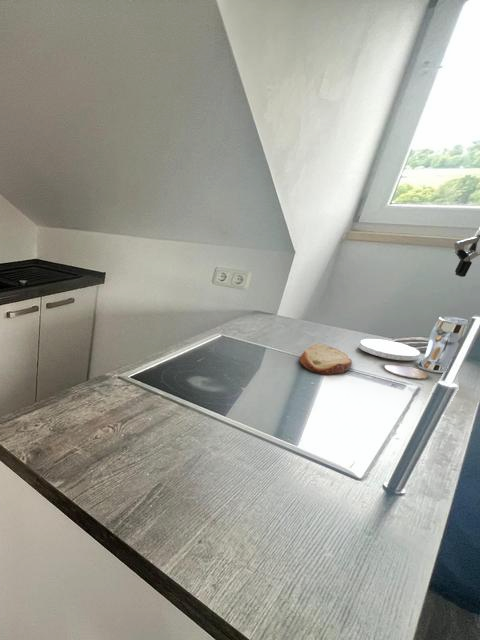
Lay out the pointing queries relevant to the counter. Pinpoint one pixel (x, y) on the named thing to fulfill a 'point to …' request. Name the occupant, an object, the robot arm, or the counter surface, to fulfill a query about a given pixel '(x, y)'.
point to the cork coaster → (405, 371)
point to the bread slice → (325, 360)
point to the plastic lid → (389, 349)
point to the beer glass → (443, 344)
